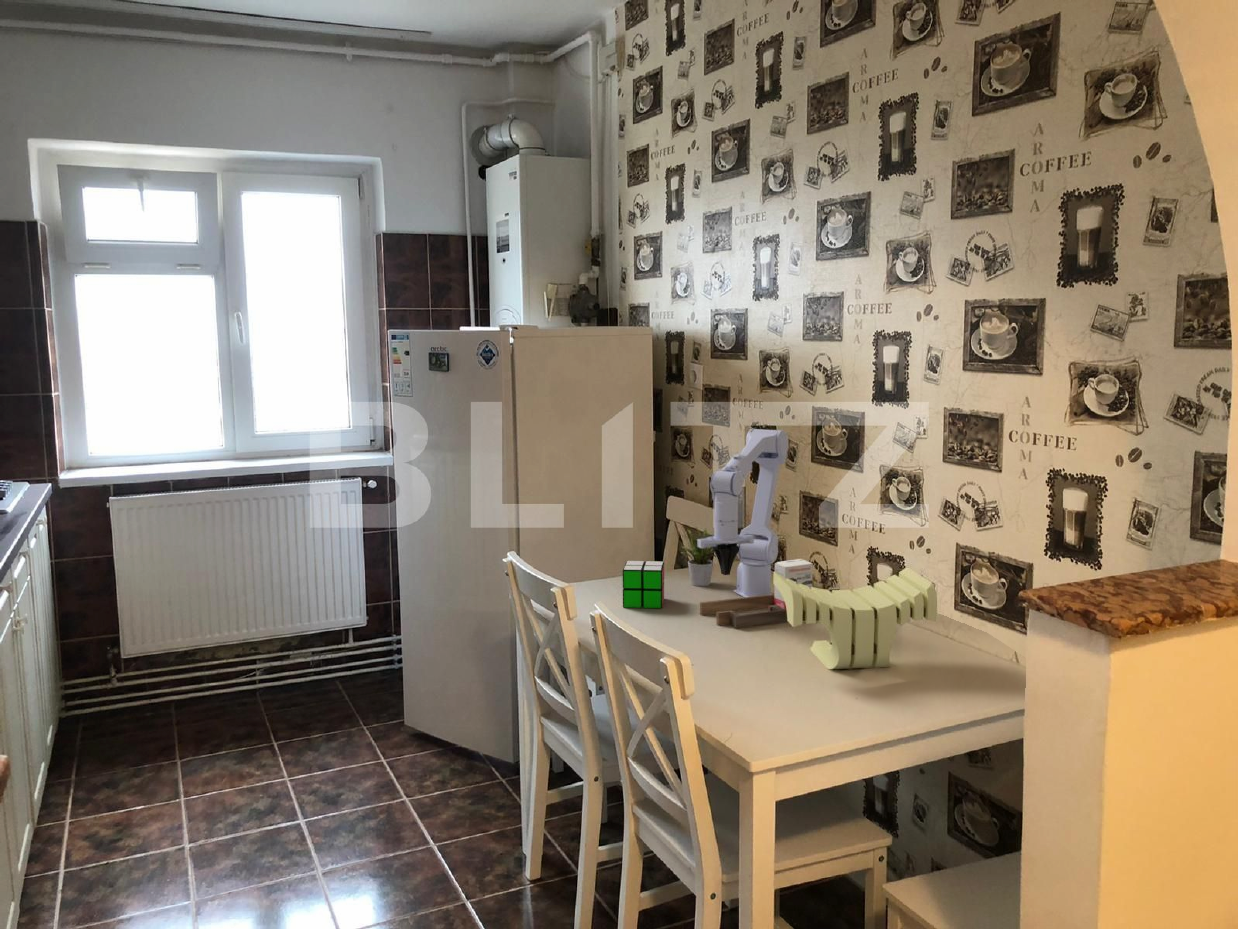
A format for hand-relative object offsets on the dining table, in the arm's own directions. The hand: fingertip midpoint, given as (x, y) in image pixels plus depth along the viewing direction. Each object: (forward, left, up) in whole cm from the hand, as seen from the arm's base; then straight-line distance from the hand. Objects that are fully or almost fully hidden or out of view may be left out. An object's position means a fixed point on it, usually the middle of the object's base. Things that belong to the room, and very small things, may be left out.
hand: (725, 574), depth 243 cm
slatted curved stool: (+41, +9, -10) cm, 43 cm away
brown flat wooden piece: (+5, +9, -10) cm, 15 cm away
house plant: (-27, +8, -10) cm, 30 cm away
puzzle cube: (-16, -15, -10) cm, 24 cm away
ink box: (+2, +18, -10) cm, 21 cm away
